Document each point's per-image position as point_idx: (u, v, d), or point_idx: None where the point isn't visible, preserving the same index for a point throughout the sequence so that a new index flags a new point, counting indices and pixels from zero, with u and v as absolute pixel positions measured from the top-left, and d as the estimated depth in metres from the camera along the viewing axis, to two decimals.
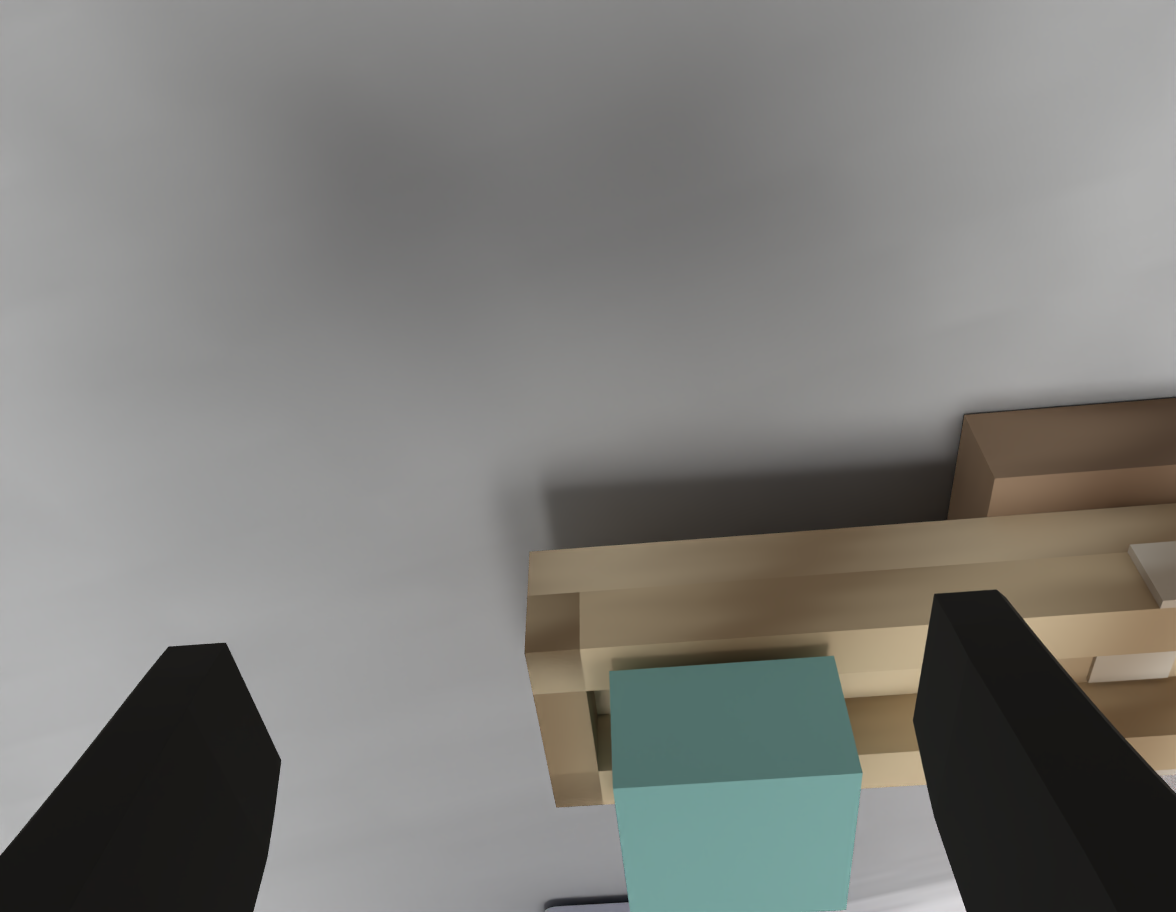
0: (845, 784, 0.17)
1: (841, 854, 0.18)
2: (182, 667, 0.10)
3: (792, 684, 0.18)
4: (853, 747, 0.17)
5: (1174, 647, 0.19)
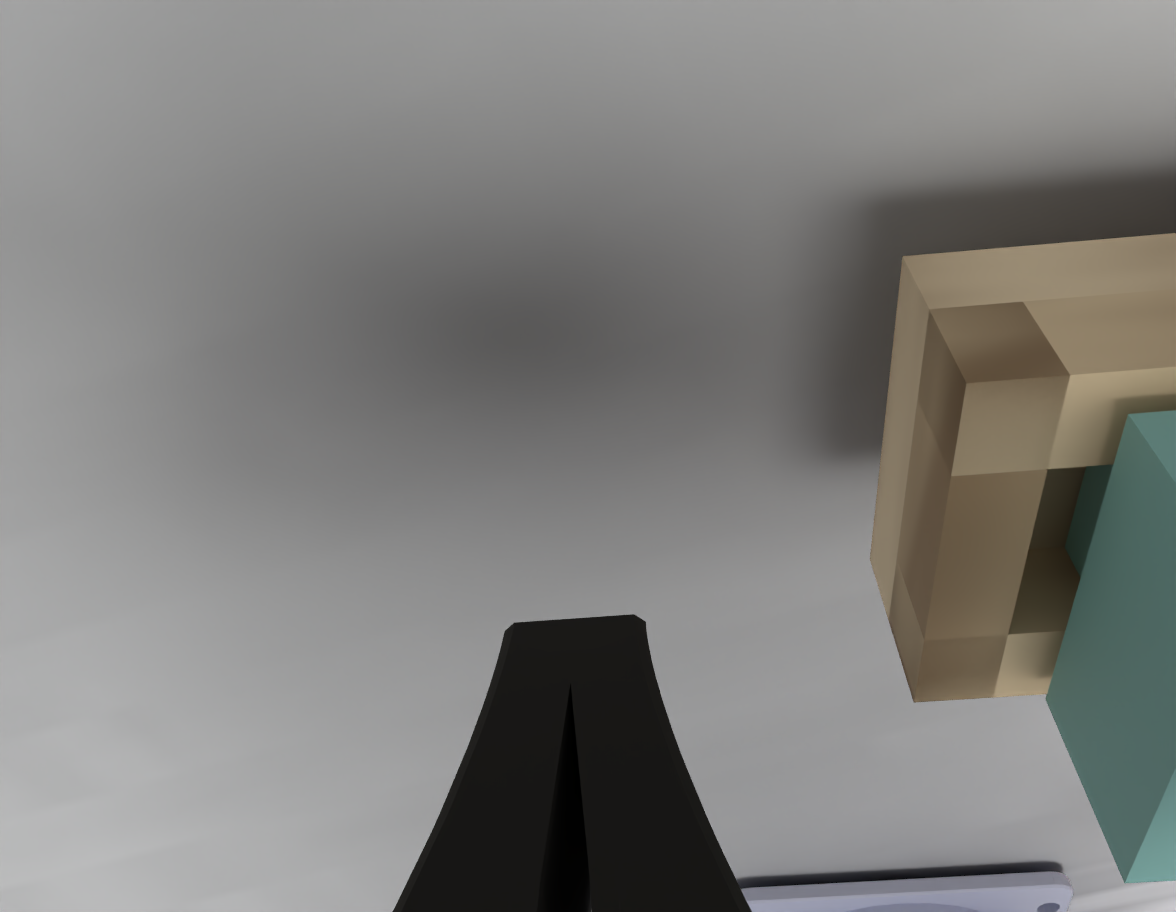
0: None
1: None
2: (542, 642, 0.10)
3: None
4: None
5: None
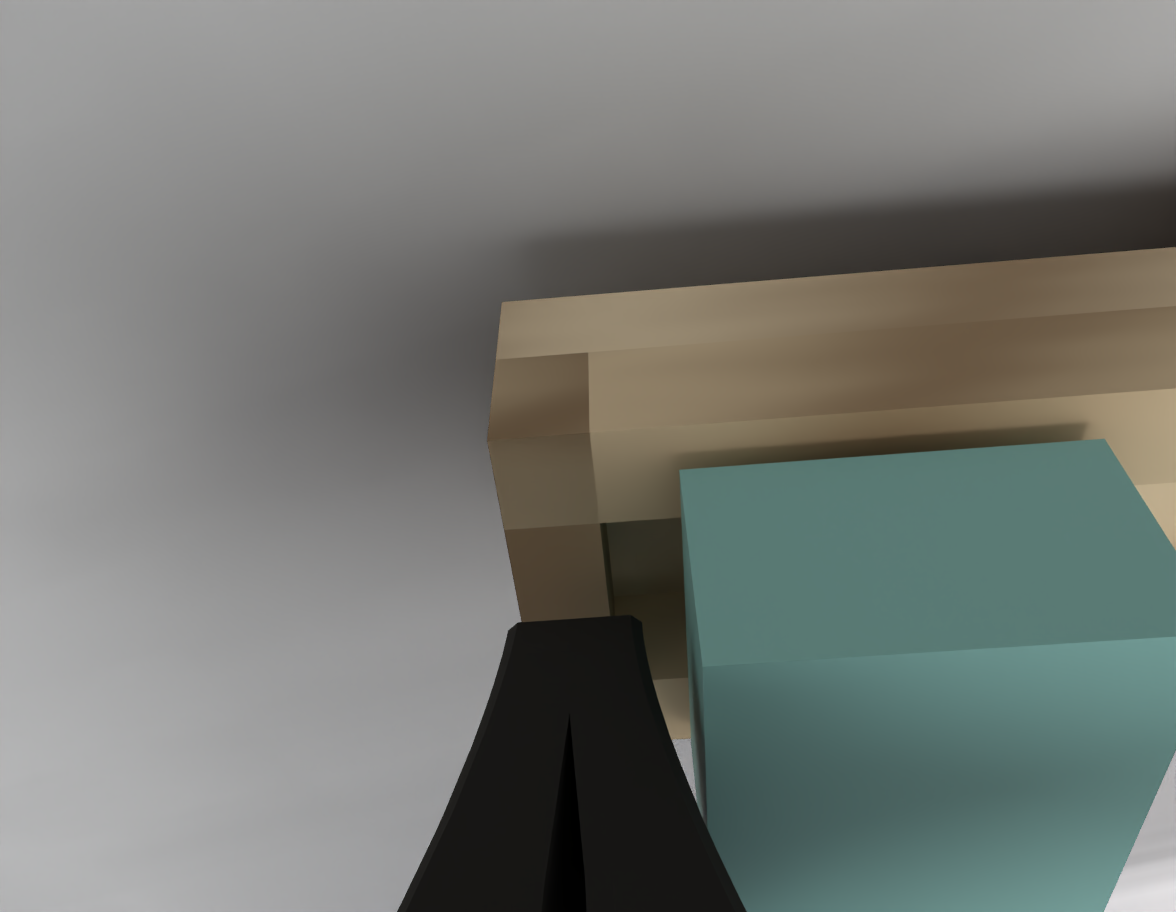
0: None
1: (1126, 812, 0.10)
2: (546, 642, 0.10)
3: (1036, 484, 0.09)
4: None
5: None
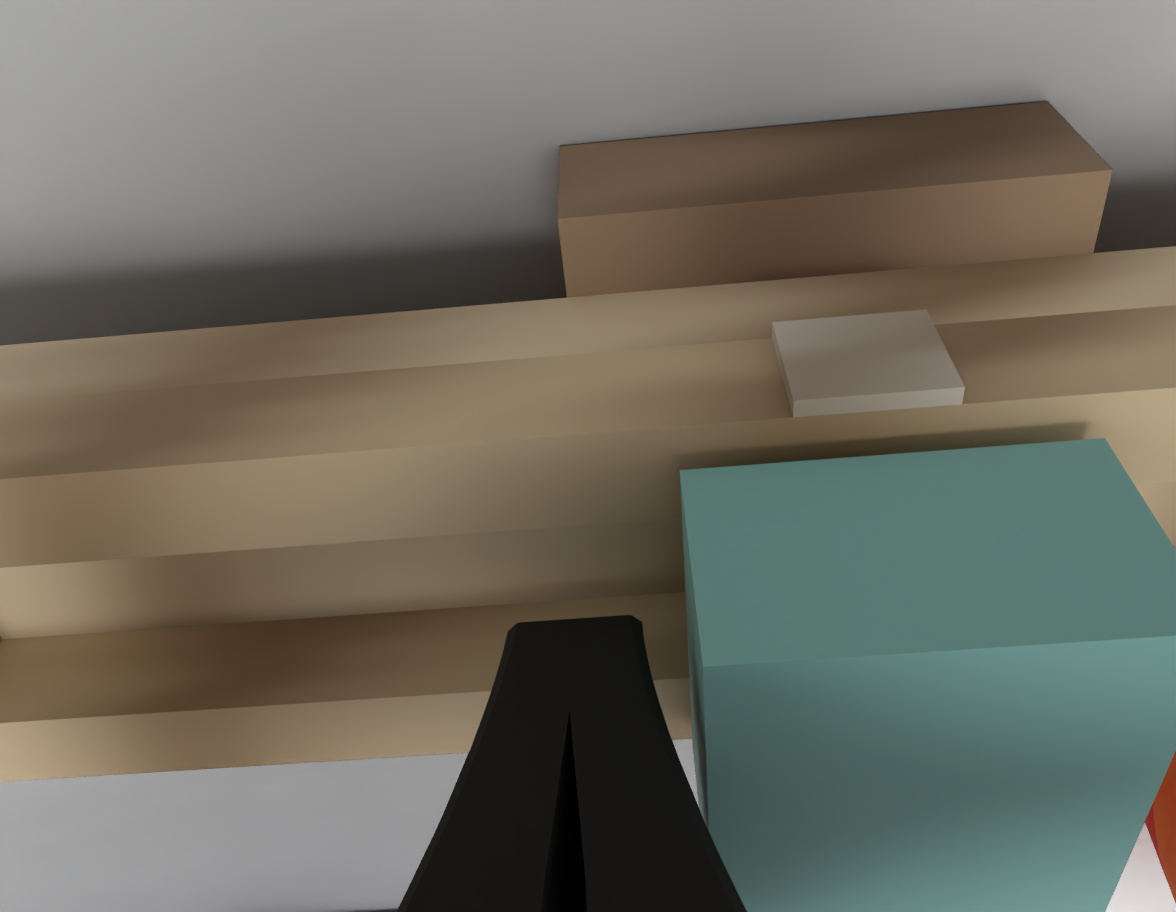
0: None
1: (1127, 811, 0.10)
2: (546, 642, 0.10)
3: (1036, 483, 0.09)
4: None
5: None
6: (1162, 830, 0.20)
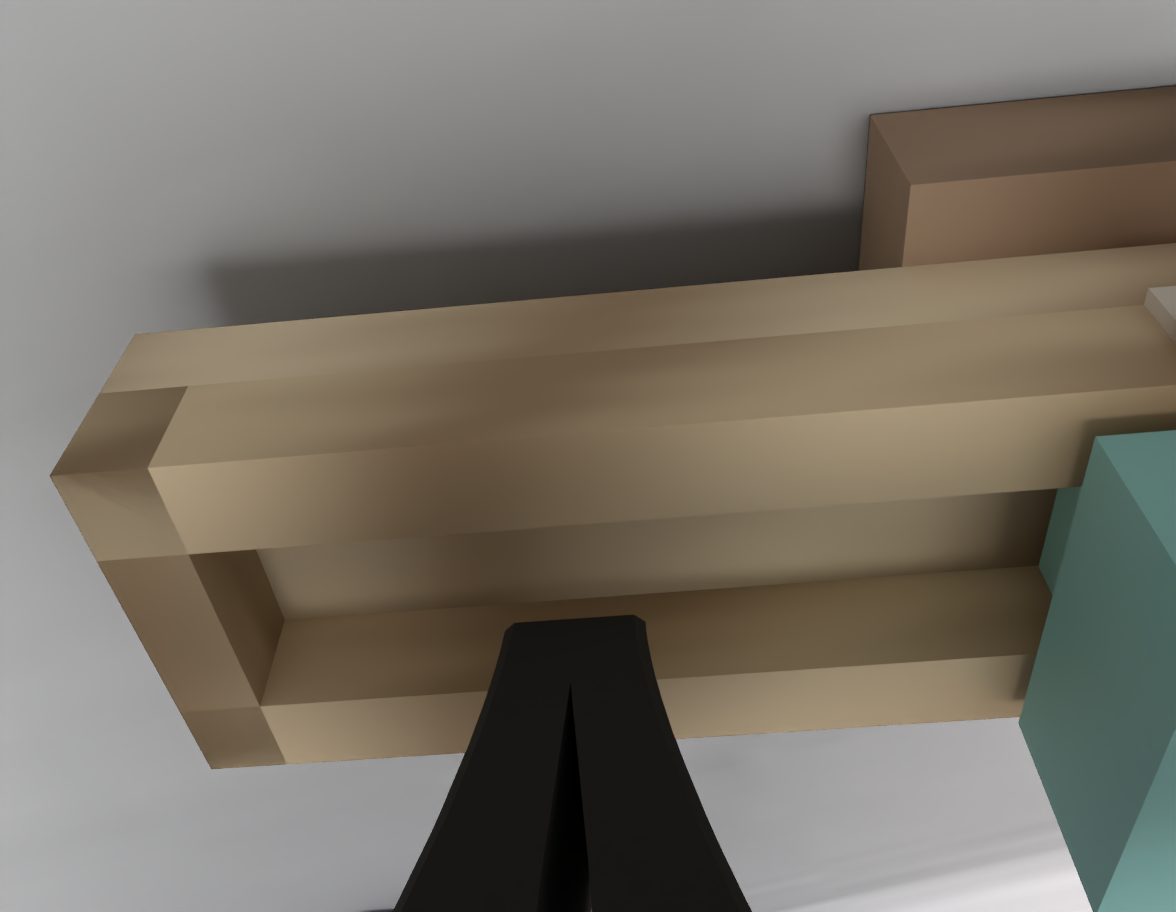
0: None
1: None
2: (542, 642, 0.10)
3: None
4: None
5: None
6: None
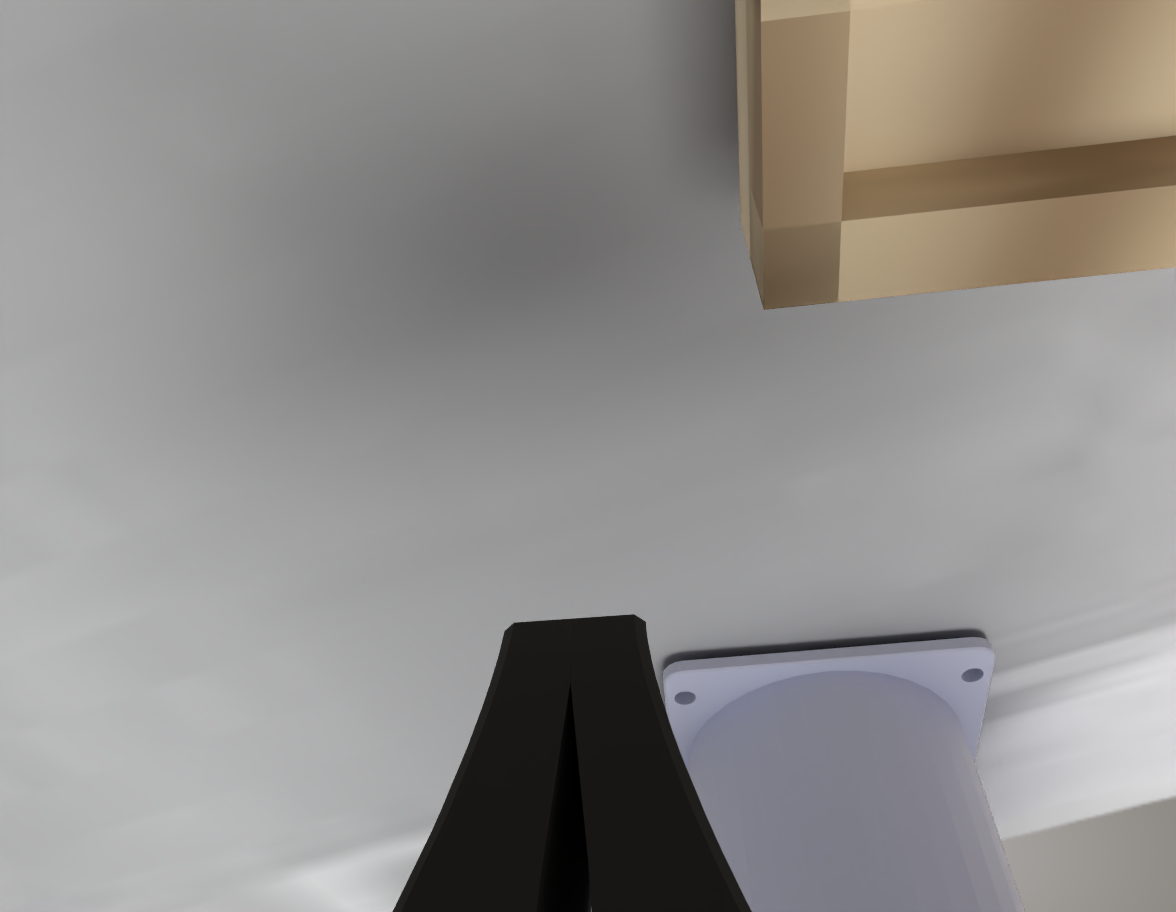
0: None
1: None
2: (542, 643, 0.10)
3: None
4: None
5: None
6: None
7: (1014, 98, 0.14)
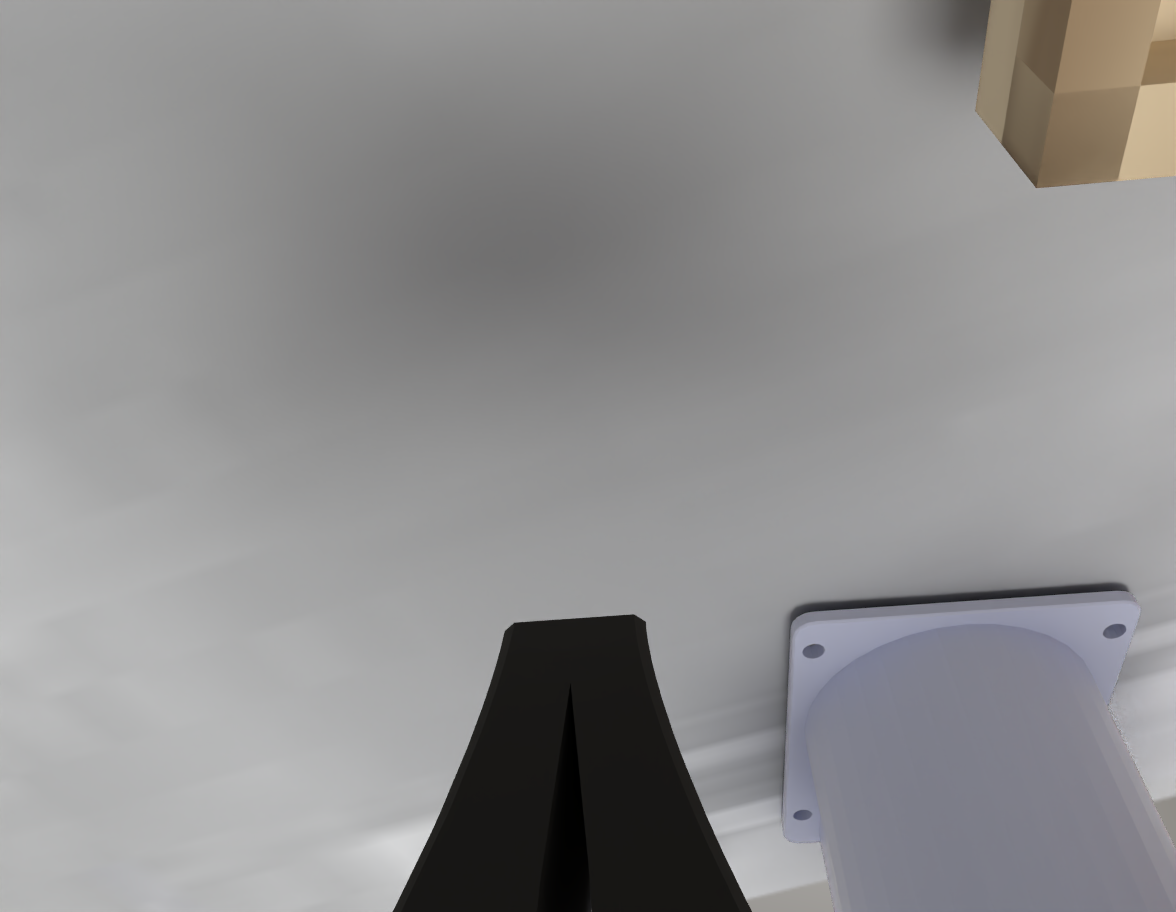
0: None
1: None
2: (542, 642, 0.10)
3: None
4: None
5: None
6: None
7: None
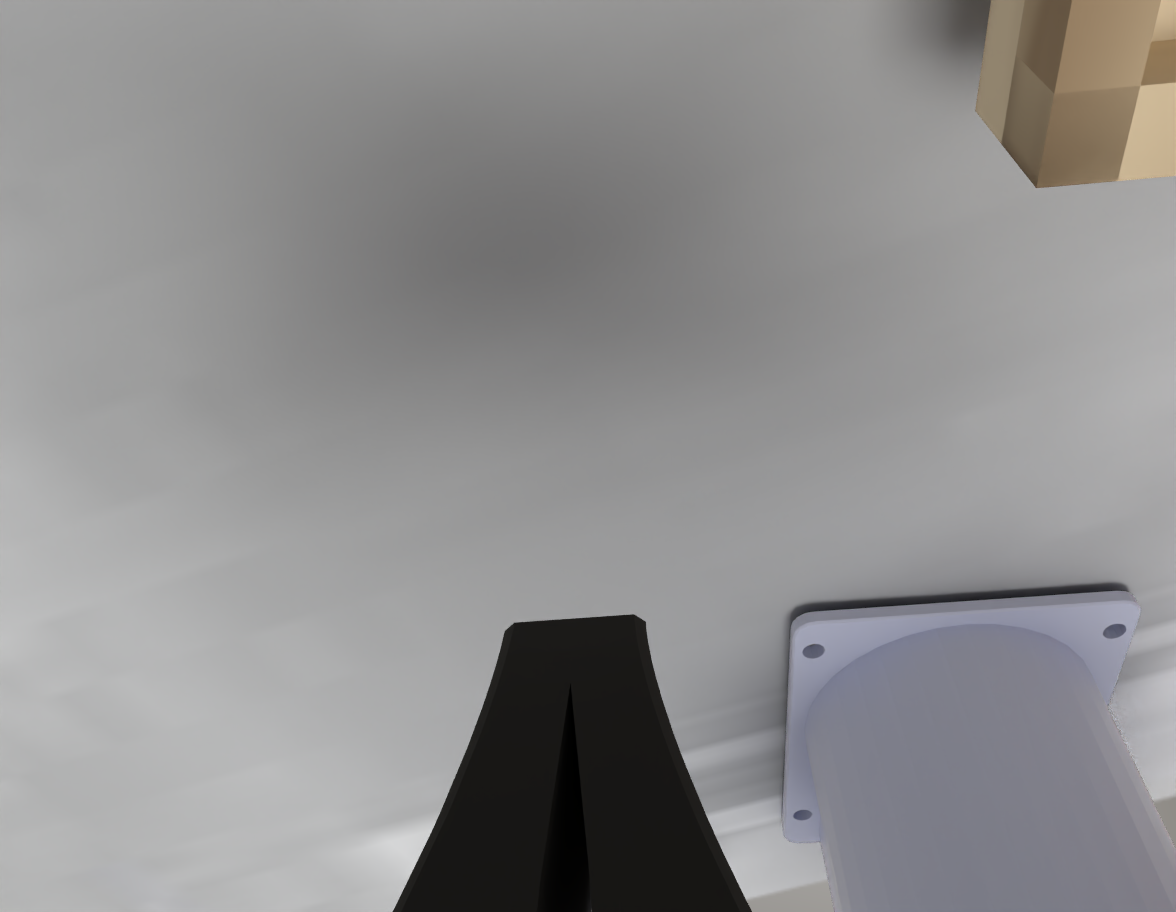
0: None
1: None
2: (542, 642, 0.10)
3: None
4: None
5: None
6: None
7: None
